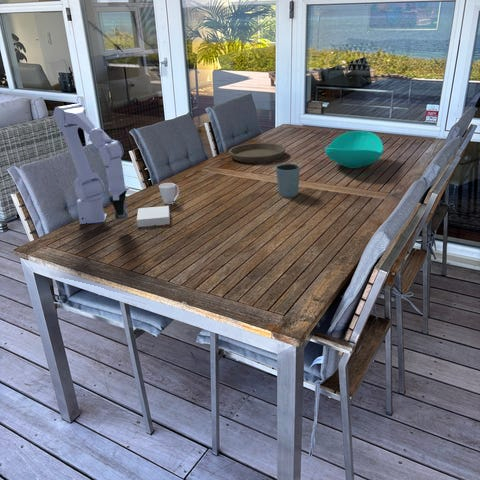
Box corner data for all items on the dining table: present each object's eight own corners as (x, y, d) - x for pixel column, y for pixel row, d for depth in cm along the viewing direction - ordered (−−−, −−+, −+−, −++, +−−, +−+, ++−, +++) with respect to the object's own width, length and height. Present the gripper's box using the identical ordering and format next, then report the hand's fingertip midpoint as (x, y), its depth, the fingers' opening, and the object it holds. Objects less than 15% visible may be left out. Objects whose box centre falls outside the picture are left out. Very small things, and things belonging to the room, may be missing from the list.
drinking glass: (298, 197, 201) (298, 170, 196) (274, 197, 203) (274, 169, 198) (300, 190, 210) (300, 163, 205) (277, 189, 212) (277, 163, 207)
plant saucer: (220, 155, 270) (220, 147, 268) (268, 147, 281) (268, 139, 279) (244, 168, 244) (243, 159, 242) (296, 159, 255) (296, 150, 254)
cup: (157, 204, 201) (155, 186, 197) (173, 197, 208) (171, 179, 204) (169, 207, 197) (167, 188, 193) (185, 200, 204) (183, 182, 201)
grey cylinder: (114, 219, 172) (112, 204, 170) (116, 215, 176) (113, 199, 174) (127, 218, 173) (125, 203, 170) (128, 214, 177) (126, 198, 174)
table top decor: (376, 180, 217) (378, 151, 212) (316, 175, 227) (317, 148, 221) (386, 157, 250) (388, 132, 245) (333, 154, 260) (334, 129, 254)
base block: (137, 227, 179) (136, 219, 178) (139, 215, 190) (138, 208, 189) (169, 224, 181) (169, 216, 179) (169, 212, 191) (168, 205, 190)
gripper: (125, 181, 162) (130, 218, 168) (128, 169, 175) (133, 204, 181) (104, 183, 161) (110, 220, 167) (108, 171, 174) (114, 205, 180)
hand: (120, 212), depth 174 cm, fingers closed on grey cylinder, 4 cm apart
